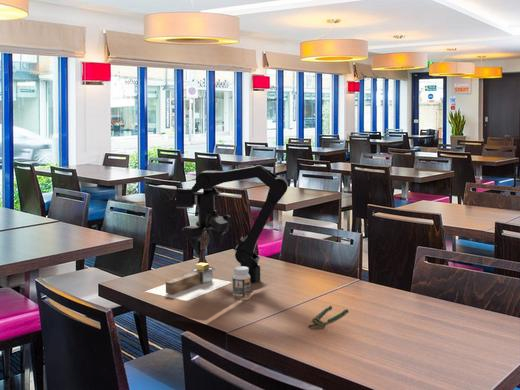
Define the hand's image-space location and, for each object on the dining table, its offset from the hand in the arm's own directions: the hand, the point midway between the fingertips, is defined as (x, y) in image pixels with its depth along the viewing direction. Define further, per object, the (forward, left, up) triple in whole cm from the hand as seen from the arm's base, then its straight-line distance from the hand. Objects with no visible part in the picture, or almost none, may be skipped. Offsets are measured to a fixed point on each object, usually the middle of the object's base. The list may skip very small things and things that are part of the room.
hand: (208, 252), depth 212 cm
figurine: (+17, -17, -11) cm, 27 cm away
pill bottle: (-20, +8, -11) cm, 24 cm away
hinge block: (0, +3, -10) cm, 10 cm away
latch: (0, +3, -5) cm, 6 cm away
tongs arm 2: (-1, +13, -9) cm, 16 cm away
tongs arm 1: (+1, +13, -9) cm, 16 cm away
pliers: (-51, +10, -11) cm, 53 cm away
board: (0, +10, -11) cm, 15 cm away
